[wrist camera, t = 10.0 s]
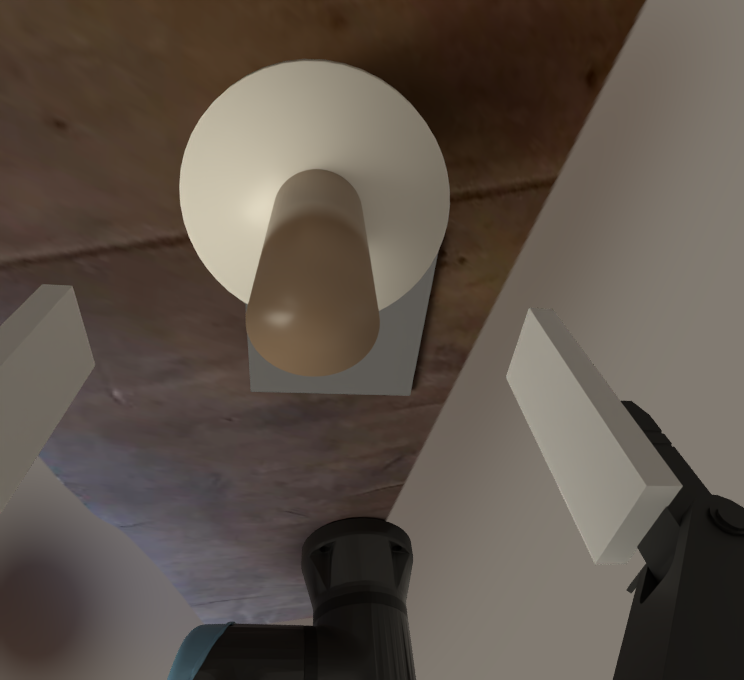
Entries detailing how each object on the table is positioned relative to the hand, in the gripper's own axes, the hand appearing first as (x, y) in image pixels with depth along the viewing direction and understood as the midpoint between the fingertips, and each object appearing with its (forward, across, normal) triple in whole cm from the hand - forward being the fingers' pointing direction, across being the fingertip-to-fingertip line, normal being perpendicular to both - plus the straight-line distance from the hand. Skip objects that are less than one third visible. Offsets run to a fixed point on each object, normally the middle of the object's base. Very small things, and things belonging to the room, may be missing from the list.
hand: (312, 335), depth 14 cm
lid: (+10, 0, 0) cm, 10 cm away
